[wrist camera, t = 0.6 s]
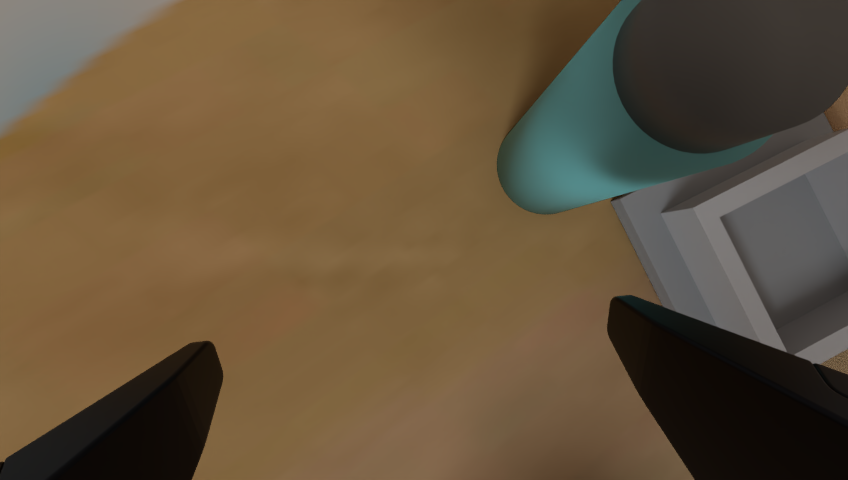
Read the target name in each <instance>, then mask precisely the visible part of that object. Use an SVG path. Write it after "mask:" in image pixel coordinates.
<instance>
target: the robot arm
mask: <svg viewBox="0 0 848 480" xmlns="http://www.w3.org/2000/svg"><path fill="white" fill-rule="evenodd" d="M607 331H608V335H609V338H610V340H611V342H612V344H613V346H614V348H615V350H616V352H617V354H618V355H619V357H620V359H621V361H622V363H623V365H624V367H625V369H626V371H627V373H628V375H629V377H630V379H631V381H632V383H633V384H634V386H635V388H636V390H637V392H638V393H639V395H640V397H641V398H642V400H643V401H644V403H645V405H646V406H647V408H648V409H649V411H650V412H651V414H652V415H653V417H654V418H655V420H656V421H657V423H658V424H659V426H660V427H661V429H662V431H663V432H664V434H665V435H666V437H667V438H668V440H669V441H670V443H671V444H672V446H673V447H674V449H675V450H676V452H677V453H678V455H679V456H680V458H681V459H682V461H683V462H684V464H685V465H686V467H687V469H688V470H689V472H690V473H691V475H692V476H693V478H694V479H695V480H848V375H847V374H845V373H842V372H839V371H836V370H834V369H831V368H828V367H826V366H823V365H820V364H817V363H814V364H812V362H811V361H809V360H806V359H804V358H801V357H798V356H795V355H793V354H790V353H787V352H785V351H782V350H779V349H776V348H774V347H771V346H768V345H766V344H763V343H760V342H757V341H755V340H752V339H749V338H746V337H744V336H741V335H738V334H736V333H733V332H730V331H727V330H725V329H722V328H719V327H717V326H714V325H711V324H708V323H706V322H703V321H700V320H698V319H695V318H692V317H689V316H687V315H684V314H681V313H679V312H676V311H673V310H670V309H668V308H665V307H662V306H660V305H657V304H654V303H651V302H649V301H646V300H643V299H641V298H638V297H635V296H632V295H625V296H616V297H614V298H612V300H611V302H610V308H609V316H608V324H607ZM222 382H223V370H222V367H221V364H220V361H219V358H218V355H217V352H216V349H215V346H214V344H213V343H212V342H210V341H202V342H193V343H190V344H188V345H186V346H185V347H183V348H181V349H180V350H178V351H177V352H175V353H173V354H172V355H170V356H169V357H167V358H165V359H164V360H162V361H161V362H159V363H157V364H156V365H154V366H153V367H151V368H149V369H148V370H146V371H145V372H143V373H142V374H140V375H138V376H137V377H135V378H134V379H132V380H130V381H129V382H127V383H126V384H124V385H122V386H121V387H119V388H118V389H116V390H114V391H113V392H111V393H110V394H108V395H106V396H105V397H103V398H102V399H100V400H98V401H97V402H95V403H94V404H92V405H90V406H89V407H87V408H86V409H84V410H82V411H81V412H79V413H78V414H76V415H74V416H73V417H71V418H70V419H68V420H66V421H65V422H63V423H62V424H60V425H58V426H57V427H55V428H54V429H52V430H51V431H49V432H47V433H46V434H44V435H43V436H41V437H39V438H38V439H36V440H35V441H33V442H31V443H30V444H28V445H27V446H25V447H23V448H22V449H20V450H19V451H17V452H15V453H14V454H12V455H11V456H9V457H7V458H6V460H5V462H0V480H192V477H193V475H194V472H195V470H196V467H197V465H198V462H199V460H200V457H201V454H202V452H203V449H204V446H205V443H206V439H207V436H208V433H209V429H210V425H211V422H212V418H213V415H214V411H215V407H216V404H217V400H218V396H219V393H220V389H221V386H222Z"/></svg>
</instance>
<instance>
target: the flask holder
mask: <svg viewBox="0 0 848 480" xmlns="http://www.w3.org/2000/svg"><path fill="white" fill-rule="evenodd" d="M611 203H612V205H613V207H614V209H615V211H616V213H617V215H618V217H619V219H620V221H621V223H622V225H623V227H624V229H625V231H626V233H627V235H628V237H629V239H630V241H631V243H632V245H633V247H634V249H635V251H636V253H637V255H638V257H639V259H640V261H641V263H642V265H643V267H644V269H645V271H646V273H647V275H648V277H649V279H650V281H651V283H652V285H653V287H654V289H655V291H656V293H657V295H658V297H659V299H660V301H661V303H662V305H663V307H665V308H668V309H670V310H673V311H676V312H679V313H681V314H684V315H687V316H689V317H692V318H695V319H698V320H700V321H703V322H706V323H708V324H711V325H714V326H717V327H719V328H722V329H725V330H727V331H730V332H733V333H736V334H738V335H741V336H744V337H746V338H749V339H752V340H755V341H757V342H760V343H763V344H766V345H768V346H771V347H774V348H776V349H779V350H782V351H785V352H787V353H790V354H793V355H795V356H798V357H801V358H804V359H806V360H809V361H811V362H812V364H814V363H817V364H821V363H823V362H825V361H826V360H828V359H830V358H832V357H834V356H836V355H837V354H839V353H841V352H843V351H845V350H847V349H848V128H846V129H842V130H839V131H835V132H833V130H832V128H831V126H830V124H829V122H828V120H827V118H826V116H825V114H824V112H823V113H822V114H820V115H819V116H817V117H815V118H814V119H812V120H810V121H808V122H806V123H803V124H801V125H799V126H796V127H793V128H790V129H787V130H784V131H781V132H778V133H775V134H773V135H772V136H771V137H770V138H769V139H768V140H767V141H766V142H765V143H764V144H763V145H762V146H761V147H760V148H758V149H757V150H756V151H755V152H753V153H751V154H750V155H748V156H746V157H745V158H743V159H741V160H738V161H736V162H733V163H731V164H727V165H724V166H720V167H717V168H713V169H710V170H706V171H703V172H699V173H696V174H692V175H689V176H685V177H682V178H678V179H675V180H671V181H668V182H664V183H661V184H657V185H654V186H650V187H647V188H643V189H640V190H636V191H633V192H629V193H627V194H625V195H623V196H621V197H619V198H617V199H615V200H613V201H611Z"/></svg>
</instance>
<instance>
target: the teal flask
mask: <svg viewBox="0 0 848 480" xmlns="http://www.w3.org/2000/svg"><path fill="white" fill-rule="evenodd" d="M847 85H848V0H621V1H620V3H619V4H618V5H617V6H616V7H615V8H614V10H613V11H612V12H611V13H610V14H609V15H608V17H607V18H606V19H605V20H604V21H603V23H602V24H601V25H600V26H599V27H598V28H597V30H596V31H595V32H594V33H593V34H592V36H591V37H590V38H589V39H588V40H587V41H586V43H585V44H584V45H583V46H582V47H581V49H580V50H579V51H578V52H577V53H576V54H575V56H574V57H573V58H572V59H571V60H570V61H569V63H568V64H567V65H566V66H565V67H564V69H563V70H562V71H561V72H560V73H559V74H558V76H557V77H556V78H555V79H554V80H553V82H552V83H551V84H550V85H549V86H548V87H547V89H546V90H545V91H544V92H543V93H542V95H541V96H540V97H539V98H538V99H537V100H536V102H535V103H534V104H533V105H532V106H531V107H530V109H529V110H528V111H527V112H526V113H525V115H524V116H523V117H522V118H521V119H520V120H519V122H518V123H517V124H516V125H515V126H514V128H513V129H512V130H511V131H510V132H509V133H508V135H507V136H506V137H505V139H504V141H503V142H502V144H501V147H500V149H499V153H498V158H497V172H498V177H499V180H500V183H501V185H502V187H503V189H504V191H505V193H506V194H507V195H508V196H509V198H510V199H511V200H512V201H513V202H514V203H516V204H517V205H518V206H520V207H522V208H523V209H525V210H527V211H530V212H533V213H537V214H555V213H559V212H563V211H566V210H570V209H573V208H577V207H580V206H584V205H587V204H591V203H594V202H598V201H601V200H605V199H608V198H612V197H615V196H619V195H622V194H626V193H629V192H633V191H636V190H640V189H643V188H647V187H650V186H654V185H657V184H661V183H664V182H668V181H671V180H675V179H678V178H682V177H685V176H689V175H692V174H696V173H699V172H703V171H706V170H710V169H713V168H717V167H720V166H724V165H727V164H731V163H733V162H736V161H738V160H741V159H743V158H745V157H746V156H748V155H750V154H751V153H753V152H755V151H756V150H757V149H758V148H760V147H761V146H762V145H763V144H764V143H765V142H766V141H767V140H768V139H769V138H770V137H771V136H772V135H773V134H775V133H778V132H781V131H784V130H787V129H790V128H793V127H796V126H799V125H801V124H803V123H806V122H808V121H810V120H812V119H814V118H815V117H817V116H819V115H820V114H822V113H823V112H824V111H825V110H827V109H828V108H829V107H830V106H831V105H832V104H833V103H834V102H835V101H836V100H837V99H838V98H839V97H840V96H841V94H842V93H843V91H844V90H845V88H846V87H847Z"/></svg>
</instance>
